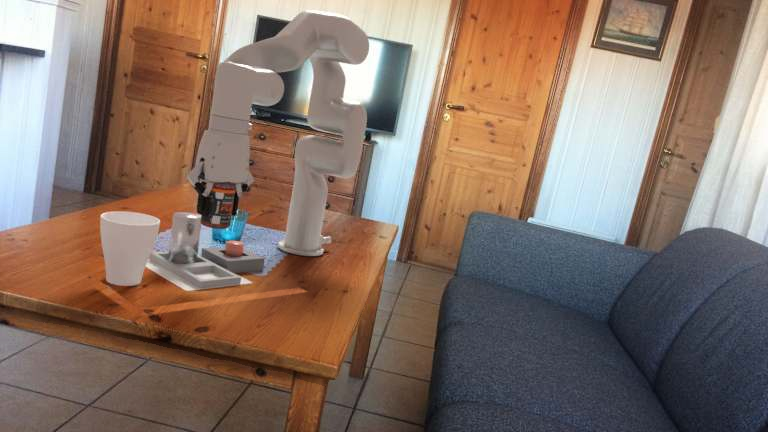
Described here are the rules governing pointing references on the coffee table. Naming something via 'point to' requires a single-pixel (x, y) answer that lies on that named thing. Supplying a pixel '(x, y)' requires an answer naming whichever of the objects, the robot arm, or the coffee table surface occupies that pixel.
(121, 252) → the cup
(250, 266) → the grey square block
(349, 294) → the coffee table surface
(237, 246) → the button
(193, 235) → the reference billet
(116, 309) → the coffee table surface
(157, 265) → the tray
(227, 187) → the supplement bottle
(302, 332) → the coffee table surface
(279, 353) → the coffee table surface
